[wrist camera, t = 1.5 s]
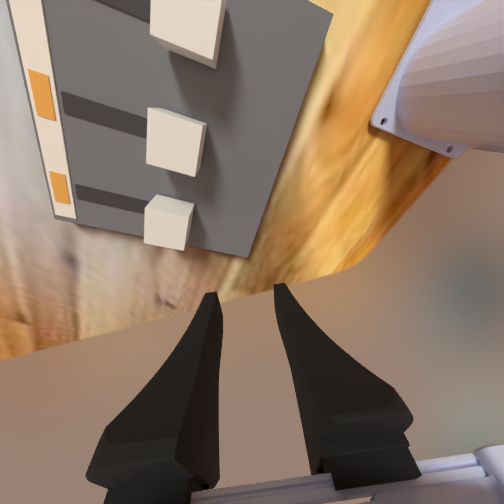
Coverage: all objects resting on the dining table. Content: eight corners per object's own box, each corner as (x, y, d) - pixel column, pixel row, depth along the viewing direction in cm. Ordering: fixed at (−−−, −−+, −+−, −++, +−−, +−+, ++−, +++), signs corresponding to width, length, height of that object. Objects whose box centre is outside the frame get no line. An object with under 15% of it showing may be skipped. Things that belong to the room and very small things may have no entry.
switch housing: (324, 23, 13) (334, 13, 12) (246, 249, 23) (247, 258, 21) (0, -143, 10) (-39, -187, 8) (66, 211, 19) (53, 219, 17)
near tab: (227, -1, 11) (226, -29, 9) (215, 69, 13) (212, 59, 11) (169, -28, 11) (152, -67, 8) (165, 48, 12) (149, 33, 10)
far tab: (194, 203, 18) (188, 217, 15) (189, 233, 19) (183, 251, 17) (156, 194, 17) (144, 207, 15) (154, 226, 18) (143, 243, 16)
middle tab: (207, 123, 14) (202, 125, 12) (200, 167, 16) (195, 176, 14) (161, 108, 14) (147, 107, 11) (159, 155, 15) (146, 163, 13)
